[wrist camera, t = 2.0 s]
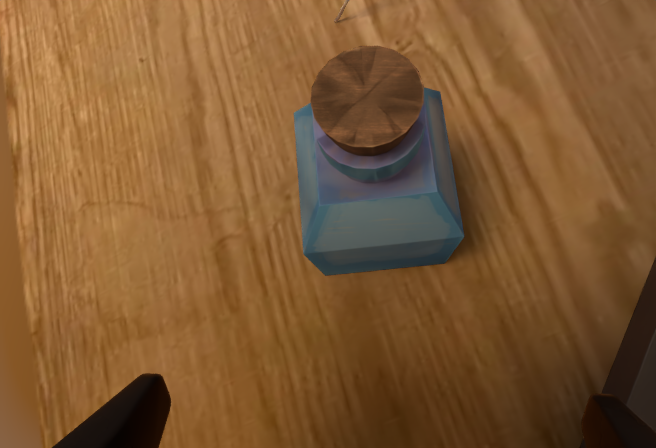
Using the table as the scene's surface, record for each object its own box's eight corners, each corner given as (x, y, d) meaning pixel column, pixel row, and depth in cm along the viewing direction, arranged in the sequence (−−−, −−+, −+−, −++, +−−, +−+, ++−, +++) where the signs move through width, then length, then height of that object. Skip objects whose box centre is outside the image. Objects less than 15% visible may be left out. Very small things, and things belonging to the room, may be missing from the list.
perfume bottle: (325, 275, 23) (263, 214, 12) (316, 166, 25) (253, 19, 13) (444, 263, 23) (501, 185, 11) (427, 152, 24) (461, -16, 13)
